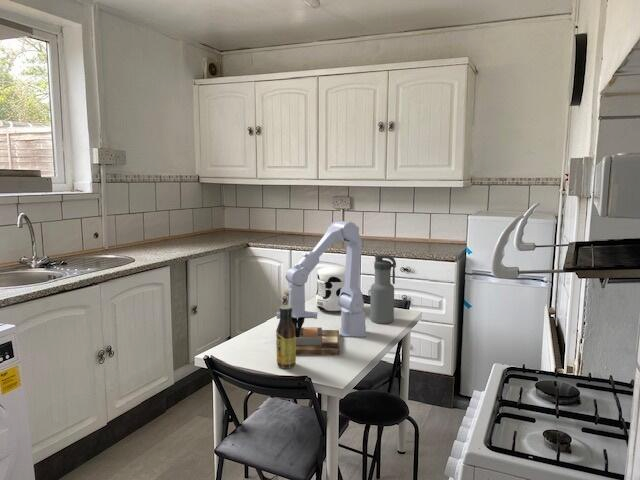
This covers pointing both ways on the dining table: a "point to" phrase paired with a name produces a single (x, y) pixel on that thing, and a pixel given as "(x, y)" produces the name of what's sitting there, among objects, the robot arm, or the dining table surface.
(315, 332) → the block
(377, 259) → the water bottle
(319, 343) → the gray rectangular frame
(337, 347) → the board
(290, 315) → the sauce bottle
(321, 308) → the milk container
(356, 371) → the dining table surface
